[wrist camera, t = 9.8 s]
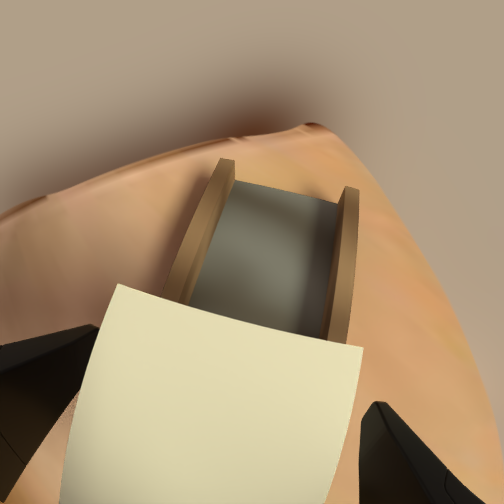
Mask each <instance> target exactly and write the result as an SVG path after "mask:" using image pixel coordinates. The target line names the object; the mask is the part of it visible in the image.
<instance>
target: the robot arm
mask: <svg viewBox="0 0 504 504" xmlns="http://www.w3.org/2000/svg"><path fill="white" fill-rule="evenodd" d="M99 330H100V328H98V327H96V326H94V325H92V324H88V325H84V326H80V327H76V328H72V329H68V330H64V331H60V332H56V333H52V334H47V335H43V336H39V337H35V338H31V339H26V340H22V341H18V342H13V343H9V344H4V345H0V501H1V502H2V503H4V501H5V500H6V498H7V497H8V495H9V493H10V492H11V490H12V488H13V487H14V485H15V483H16V482H17V480H18V479H19V477H20V475H21V474H22V472H23V471H24V469H25V468H26V465H27V464H28V463H29V461H30V460H31V458H32V456H33V455H34V453H35V452H36V450H37V449H38V447H39V446H40V444H41V443H42V442H43V440H44V439H45V437H46V436H47V434H48V433H49V431H50V430H51V428H52V427H53V426H54V424H55V423H56V421H57V420H58V419H59V417H60V416H61V414H62V413H63V412H64V410H65V409H66V407H67V406H68V405H69V403H70V402H71V401H72V399H73V398H74V396H75V395H76V394H77V392H78V391H79V390H80V388H81V386H82V382H83V379H84V376H85V372H86V369H87V366H88V363H89V359H90V356H91V353H92V350H93V347H94V344H95V342H96V339H97V336H98V333H99ZM359 504H485V503H484V502H483V501H482V500H481V499H479V498H478V497H477V496H476V495H475V494H473V493H472V492H471V491H470V490H469V489H468V488H467V487H466V486H464V485H463V484H462V483H461V482H460V481H459V480H458V479H457V478H456V477H455V476H454V475H453V473H452V472H451V471H450V470H449V469H447V467H446V466H445V465H444V464H443V463H442V462H441V461H440V460H439V458H438V457H437V456H436V455H435V454H434V453H433V452H432V451H431V450H430V449H429V448H428V447H427V446H426V445H425V443H424V442H423V441H422V440H421V439H420V438H419V437H418V436H417V435H416V434H415V433H414V432H413V431H412V429H411V428H410V427H409V426H408V425H407V424H406V423H405V422H404V421H403V420H402V419H401V418H400V416H399V415H398V414H397V413H396V412H395V411H394V410H393V409H392V408H391V407H390V406H389V405H388V404H387V403H386V402H381V401H375V402H373V403H372V404H371V406H370V407H369V409H368V410H367V412H366V413H365V415H364V416H363V418H362V421H361V433H360V449H359Z"/></svg>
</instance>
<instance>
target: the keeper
mask: <svg viewBox="0 0 504 504" xmlns="http://www.w3.org/2000/svg"><path fill="white" fill-rule="evenodd" d="M362 354H363V347H357V346H352V345H346V344H341V343H336V342H331V341H326V340H321V339H316V338H311V337H306V336H302V335H297V334H293V333H288V332H284V331H280V330H275V329H271V328H267V327H263V326H259V325H255V324H251V323H247V322H243V321H239V320H235V319H232V318H228V317H224V316H220V315H217V314H213V313H210V312H206V311H203V310H199V309H196V308H192V307H189V306H186V305H182V304H179V303H176V302H173V301H169V300H166V299H163V298H160V297H157V296H154V295H151V294H148V293H145V292H142V291H139V290H136V289H133V288H130V287H127V286H124V285H121V284H117V287H116V289H115V291H114V294H113V296H112V299H111V301H110V304H109V306H108V309H107V311H106V314H105V317H104V319H103V322H102V325H101V327H100V330H99V333H98V336H97V339H96V342H95V344H94V347H93V350H92V353H91V356H90V359H89V363H88V366H87V369H86V372H85V376H84V379H83V382H82V386H81V389H80V393H79V397H78V400H77V404H76V408H75V412H74V416H73V421H72V425H71V429H70V434H69V439H68V444H67V449H66V455H65V460H64V467H63V473H62V480H61V489H60V498H59V504H324V503H325V500H326V497H327V494H328V492H329V489H330V486H331V483H332V480H333V477H334V474H335V471H336V468H337V464H338V461H339V458H340V454H341V451H342V447H343V444H344V440H345V436H346V432H347V429H348V425H349V420H350V416H351V412H352V407H353V403H354V398H355V393H356V388H357V383H358V378H359V372H360V367H361V361H362Z"/></svg>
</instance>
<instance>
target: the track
mask: <svg viewBox="0 0 504 504" xmlns="http://www.w3.org/2000/svg"><path fill="white" fill-rule="evenodd" d="M358 221H359V190H358V189H355V188H351V187H348V186H345V188H344V190H343V193H342V195H341V197H340V200H339V202H338V204H336V203H332V202H328V201H325V200H321V199H317V198H313V197H309V196H305V195H301V194H296V193H292V192H288V191H284V190H279V189H275V188H270V187H266V186H261V185H256V184H252V183H247V182H242V181H237V180H235V161H234V160H229V159H223V158H220V160H219V162H218V164H217V166H216V168H215V170H214V172H213V174H212V176H211V179H210V181H209V183H208V185H207V187H206V189H205V191H204V194H203V196H202V198H201V200H200V202H199V205H198V207H197V209H196V211H195V213H194V216H193V218H192V220H191V223H190V225H189V227H188V229H187V232H186V234H185V236H184V239H183V241H182V244H181V246H180V248H179V251H178V253H177V256H176V258H175V260H174V263H173V265H172V268H171V270H170V273H169V275H168V278H167V281H166V283H165V286H164V288H163V291H162V294H161V296H160V298H163V299H166V300H169V301H173V302H176V303H179V304H182V305H186V306H189V307H192V308H196V309H199V310H203V311H206V312H210V313H213V314H217V315H220V316H224V317H228V318H232V319H235V320H239V321H243V322H247V323H251V324H255V325H259V326H263V327H267V328H271V329H275V330H280V331H284V332H288V333H293V334H297V335H302V336H306V337H311V338H316V339H321V340H326V341H331V342H336V343H341V344H346V340H347V333H348V327H349V320H350V312H351V304H352V296H353V287H354V277H355V267H356V254H357V240H358Z"/></svg>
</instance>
